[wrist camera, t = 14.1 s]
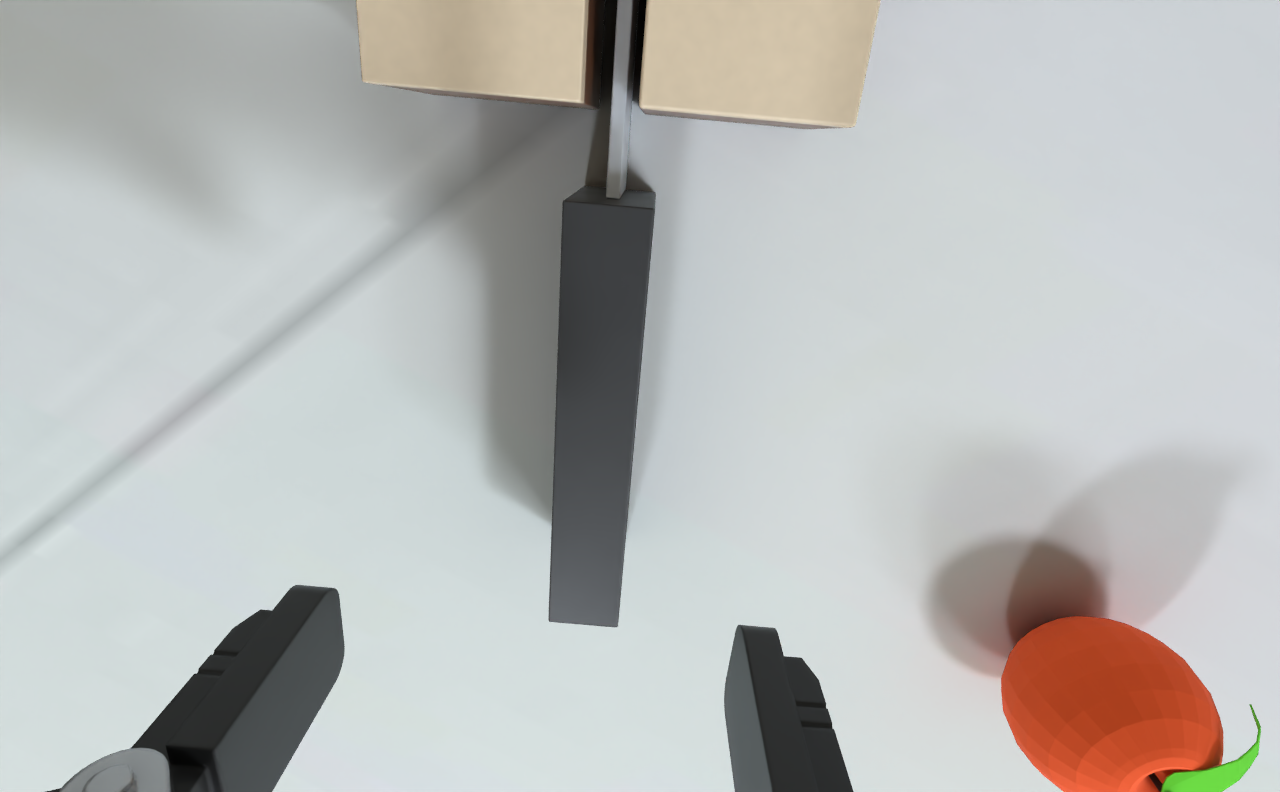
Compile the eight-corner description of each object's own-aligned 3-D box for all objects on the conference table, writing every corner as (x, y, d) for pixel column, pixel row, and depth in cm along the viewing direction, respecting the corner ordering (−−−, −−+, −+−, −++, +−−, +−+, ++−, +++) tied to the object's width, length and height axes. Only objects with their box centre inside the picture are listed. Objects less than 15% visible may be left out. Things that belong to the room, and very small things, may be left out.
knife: (624, 541, 26) (617, 628, 22) (567, 536, 26) (548, 622, 22) (685, -147, 17) (695, -249, 13) (599, -156, 17) (578, -260, 13)
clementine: (1156, 554, 26) (1326, 698, 19) (1165, 674, 28) (1319, 838, 22) (958, 604, 27) (1054, 755, 20) (983, 715, 29) (1076, 882, 23)
